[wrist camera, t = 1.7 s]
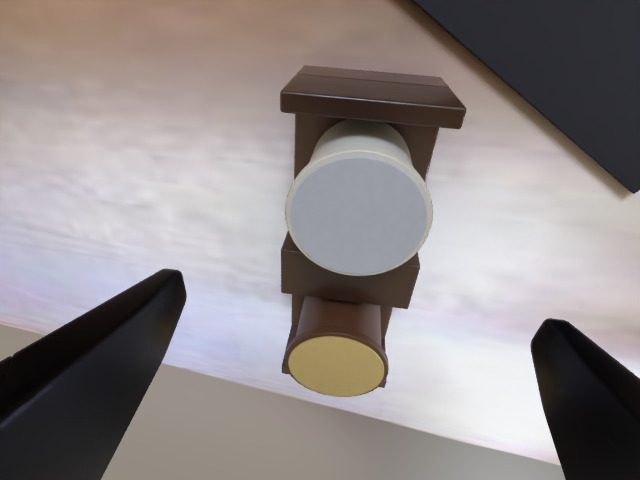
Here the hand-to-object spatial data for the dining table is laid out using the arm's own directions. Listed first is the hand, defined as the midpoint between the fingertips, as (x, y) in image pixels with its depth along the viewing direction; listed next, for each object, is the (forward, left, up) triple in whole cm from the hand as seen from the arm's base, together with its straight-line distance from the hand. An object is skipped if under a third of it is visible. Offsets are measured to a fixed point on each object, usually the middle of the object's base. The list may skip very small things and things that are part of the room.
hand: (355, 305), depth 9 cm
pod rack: (-2, +4, -11) cm, 11 cm away
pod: (-4, +7, -9) cm, 12 cm away
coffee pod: (0, 0, -9) cm, 9 cm away
